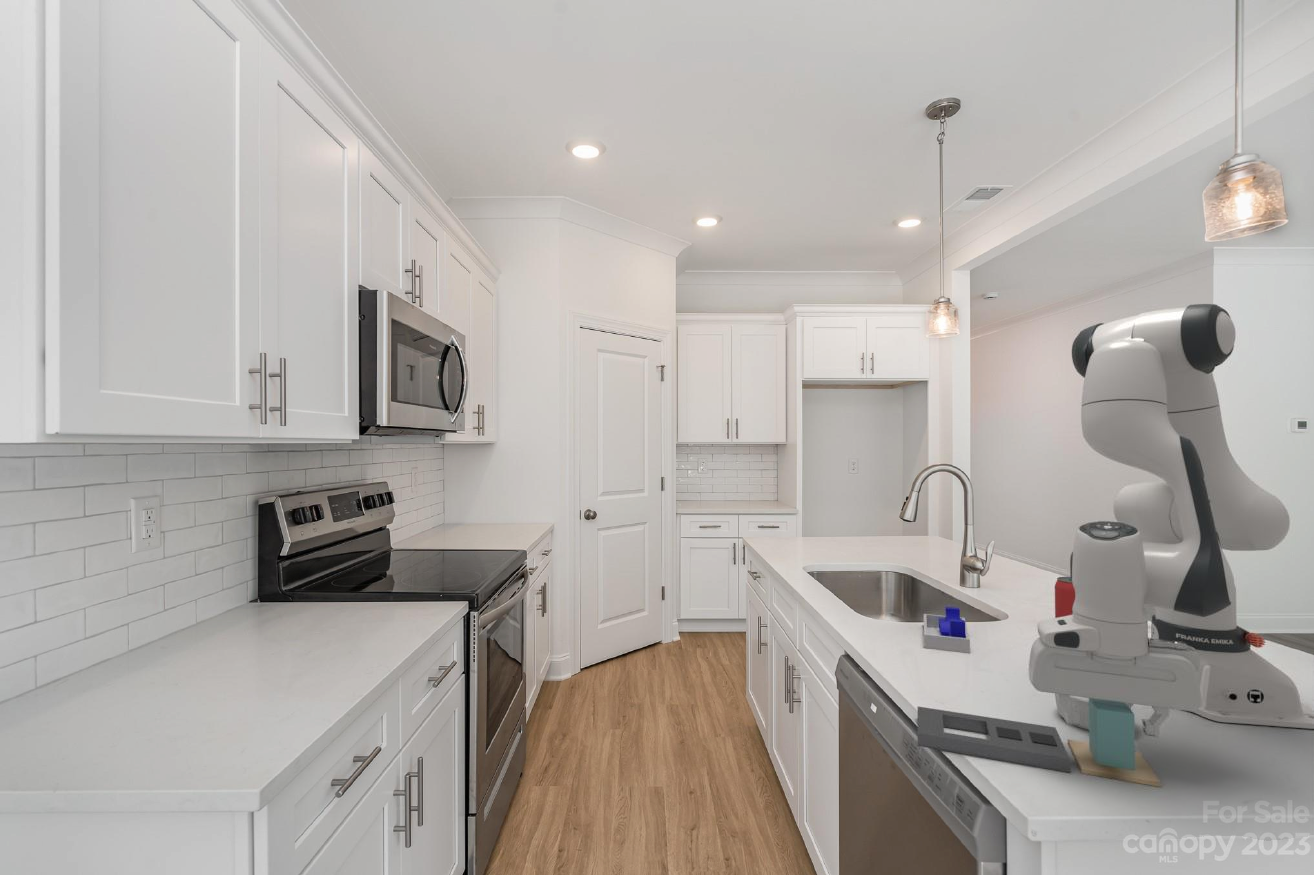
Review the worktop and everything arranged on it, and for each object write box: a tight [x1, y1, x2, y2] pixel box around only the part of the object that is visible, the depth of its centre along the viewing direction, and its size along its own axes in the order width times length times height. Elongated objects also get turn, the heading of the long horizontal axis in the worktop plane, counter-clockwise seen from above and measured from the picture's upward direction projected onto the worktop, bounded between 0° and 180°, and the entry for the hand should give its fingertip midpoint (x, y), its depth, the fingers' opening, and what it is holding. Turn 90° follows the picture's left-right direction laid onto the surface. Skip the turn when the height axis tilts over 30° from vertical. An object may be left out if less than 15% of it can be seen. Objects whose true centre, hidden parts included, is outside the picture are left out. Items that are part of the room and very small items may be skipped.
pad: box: [1066, 739, 1162, 788], centre depth 88 cm, size 9×9×1 cm
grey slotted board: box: [917, 706, 1071, 774], centre depth 94 cm, size 20×10×2 cm, turn 67°
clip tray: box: [923, 613, 971, 654], centre depth 143 cm, size 9×17×3 cm, turn 156°
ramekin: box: [1054, 693, 1134, 731], centre depth 101 cm, size 11×11×5 cm
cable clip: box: [938, 606, 966, 638], centre depth 143 cm, size 12×4×6 cm, turn 160°
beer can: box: [1054, 576, 1075, 618], centre depth 150 cm, size 7×7×12 cm
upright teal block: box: [1088, 698, 1136, 770], centre depth 88 cm, size 4×4×8 cm
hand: (1110, 728), depth 88 cm, fingers open, 8 cm apart
